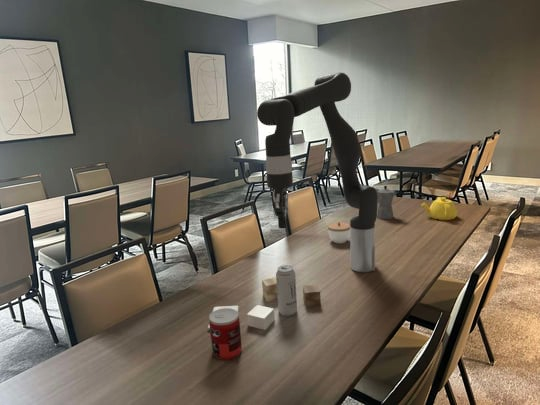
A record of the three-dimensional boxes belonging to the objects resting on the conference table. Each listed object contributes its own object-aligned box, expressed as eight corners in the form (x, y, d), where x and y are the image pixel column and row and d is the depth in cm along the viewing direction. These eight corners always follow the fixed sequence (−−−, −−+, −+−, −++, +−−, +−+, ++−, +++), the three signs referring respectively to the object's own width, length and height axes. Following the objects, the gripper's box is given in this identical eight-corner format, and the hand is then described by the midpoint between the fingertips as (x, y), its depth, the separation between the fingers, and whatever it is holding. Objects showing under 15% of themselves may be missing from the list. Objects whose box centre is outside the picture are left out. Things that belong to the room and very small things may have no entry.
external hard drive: (208, 332, 114) (214, 310, 126) (235, 331, 114) (238, 309, 126) (207, 327, 114) (213, 306, 126) (234, 326, 113) (238, 305, 125)
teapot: (416, 212, 219) (417, 194, 216) (450, 211, 216) (451, 193, 213) (425, 223, 199) (426, 202, 197) (462, 222, 197) (463, 201, 194)
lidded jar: (325, 244, 178) (325, 225, 176) (330, 236, 188) (330, 218, 185) (348, 246, 174) (348, 226, 172) (352, 238, 184) (352, 219, 181)
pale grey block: (274, 320, 117) (274, 308, 116) (265, 330, 112) (264, 318, 111) (258, 316, 120) (257, 304, 119) (247, 326, 115) (246, 314, 114)
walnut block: (318, 298, 129) (317, 284, 128) (320, 305, 124) (320, 291, 123) (303, 299, 129) (302, 285, 128) (305, 306, 124) (304, 292, 123)
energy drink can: (291, 318, 117) (289, 273, 114) (274, 314, 121) (272, 270, 117) (300, 309, 122) (298, 266, 119) (284, 305, 125) (281, 263, 122)
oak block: (276, 292, 135) (275, 277, 133) (281, 299, 130) (280, 283, 128) (263, 295, 133) (261, 280, 132) (267, 302, 128) (266, 286, 127)
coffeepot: (400, 216, 212) (400, 185, 208) (391, 221, 206) (392, 188, 202) (375, 212, 223) (375, 182, 219) (366, 216, 217) (366, 185, 213)
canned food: (213, 344, 107) (209, 309, 104) (241, 341, 107) (238, 306, 105) (211, 362, 99) (207, 324, 97) (242, 358, 100) (238, 321, 97)
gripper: (288, 174, 103) (291, 235, 107) (295, 166, 116) (298, 221, 120) (261, 175, 105) (265, 234, 109) (271, 167, 117) (274, 221, 122)
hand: (282, 227), depth 114 cm, fingers closed
